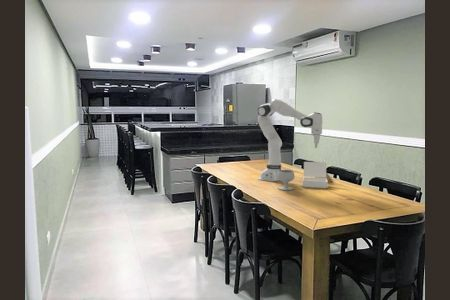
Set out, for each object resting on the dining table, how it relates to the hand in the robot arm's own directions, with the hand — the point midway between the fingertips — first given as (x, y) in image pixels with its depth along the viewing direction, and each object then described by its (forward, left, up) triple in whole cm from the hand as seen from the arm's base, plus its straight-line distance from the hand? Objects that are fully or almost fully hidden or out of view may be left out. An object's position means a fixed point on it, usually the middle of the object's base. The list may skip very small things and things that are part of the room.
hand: (315, 147), depth 279 cm
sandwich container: (+9, +23, -33) cm, 41 cm away
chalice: (-24, -20, -33) cm, 45 cm away
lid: (0, +7, -20) cm, 21 cm away
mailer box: (0, -3, -33) cm, 33 cm away
